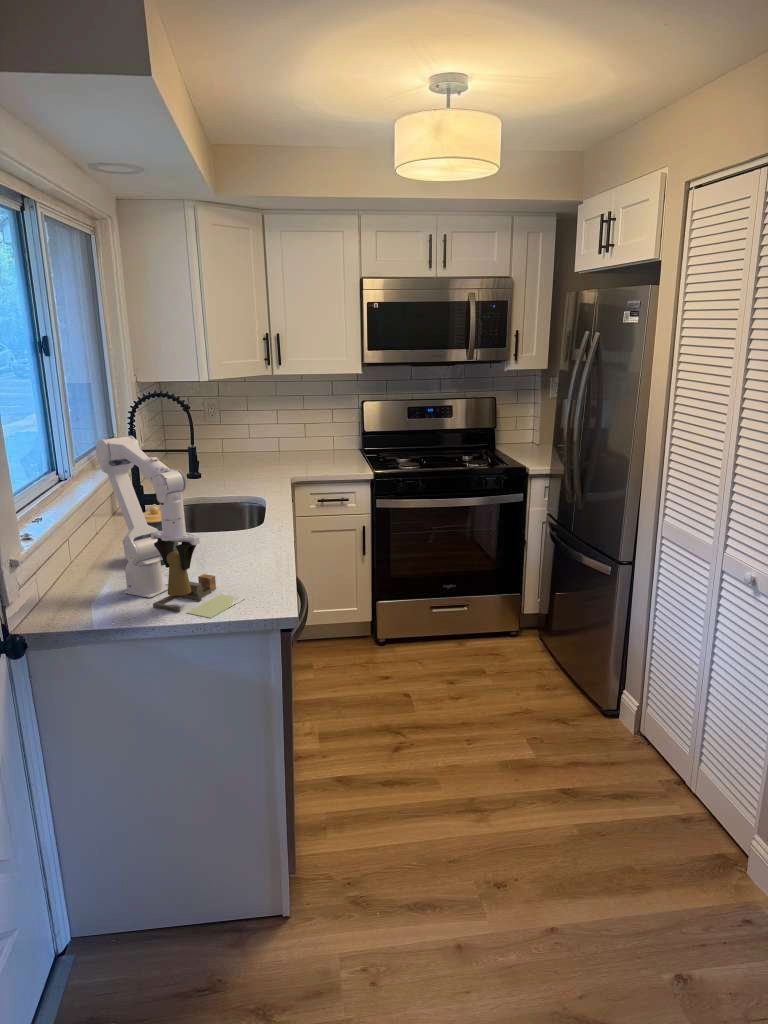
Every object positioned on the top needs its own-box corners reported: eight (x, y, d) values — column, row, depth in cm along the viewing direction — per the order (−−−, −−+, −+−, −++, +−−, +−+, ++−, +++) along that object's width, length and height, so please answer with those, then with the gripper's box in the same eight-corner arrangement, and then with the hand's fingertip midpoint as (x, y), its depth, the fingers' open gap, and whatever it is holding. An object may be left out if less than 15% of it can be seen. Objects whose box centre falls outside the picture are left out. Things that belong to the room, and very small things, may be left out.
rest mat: (186, 613, 175) (186, 612, 175) (220, 594, 187) (220, 594, 187) (211, 618, 171) (211, 617, 171) (244, 599, 184) (244, 598, 183)
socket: (153, 607, 178) (151, 593, 177) (191, 589, 192) (190, 575, 191) (178, 612, 175) (176, 598, 174) (215, 593, 188) (214, 579, 187)
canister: (167, 567, 210) (162, 512, 206) (129, 565, 213) (123, 510, 208) (187, 554, 222) (182, 502, 218) (151, 552, 225) (146, 500, 220)
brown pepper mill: (193, 588, 182) (190, 548, 180) (188, 595, 176) (185, 554, 174) (171, 589, 182) (168, 549, 180) (164, 596, 176) (161, 554, 174)
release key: (185, 596, 186) (184, 583, 185) (204, 586, 193) (203, 574, 192) (197, 598, 184) (195, 585, 183) (216, 588, 191) (215, 575, 190)
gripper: (140, 518, 174) (145, 568, 177) (184, 524, 168) (189, 576, 171) (159, 512, 180) (164, 561, 183) (203, 517, 174) (207, 567, 177)
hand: (177, 567), depth 178 cm, fingers closed on brown pepper mill, 5 cm apart
